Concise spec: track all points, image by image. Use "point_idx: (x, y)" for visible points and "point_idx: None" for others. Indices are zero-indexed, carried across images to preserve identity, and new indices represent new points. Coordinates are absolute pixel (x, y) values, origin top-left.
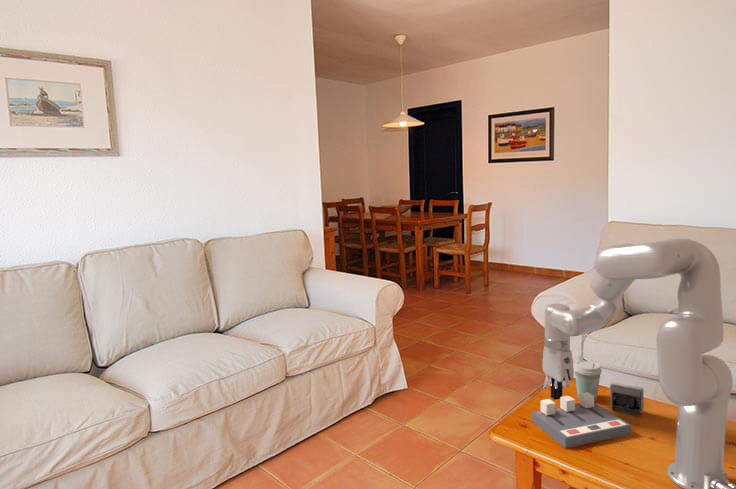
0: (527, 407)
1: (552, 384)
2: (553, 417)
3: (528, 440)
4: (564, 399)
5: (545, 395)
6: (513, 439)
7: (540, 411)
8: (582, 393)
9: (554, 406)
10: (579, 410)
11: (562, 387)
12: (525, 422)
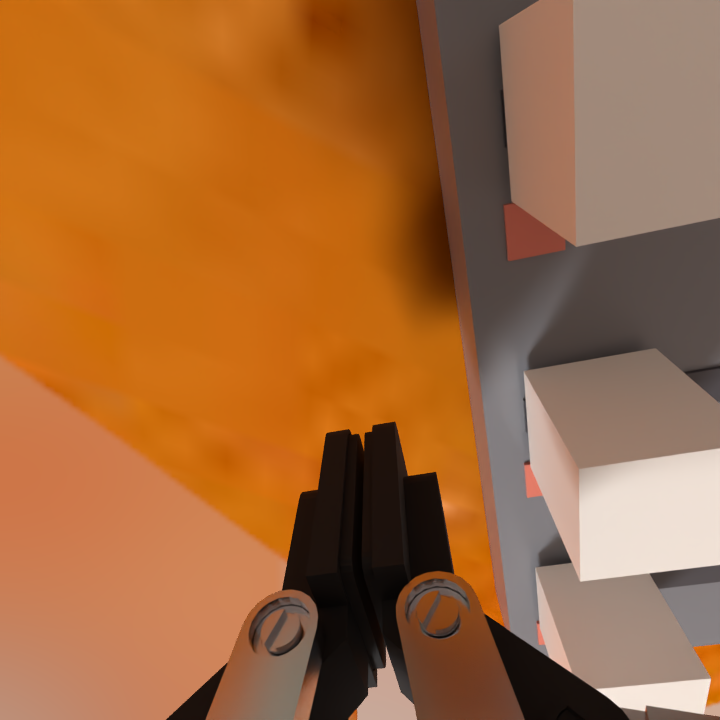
0: (285, 552)
1: (355, 707)
2: (680, 578)
3: (710, 666)
4: (677, 567)
5: (23, 345)
6: None
7: (528, 616)
8: (594, 174)
9: (685, 641)
10: (655, 277)
11: (451, 582)
12: (502, 622)
